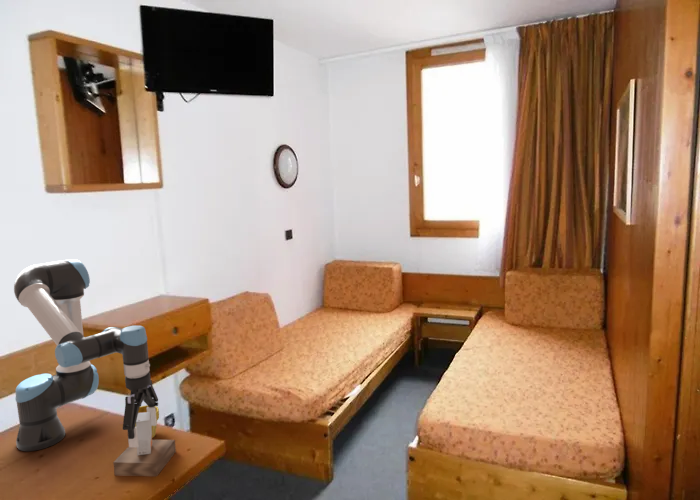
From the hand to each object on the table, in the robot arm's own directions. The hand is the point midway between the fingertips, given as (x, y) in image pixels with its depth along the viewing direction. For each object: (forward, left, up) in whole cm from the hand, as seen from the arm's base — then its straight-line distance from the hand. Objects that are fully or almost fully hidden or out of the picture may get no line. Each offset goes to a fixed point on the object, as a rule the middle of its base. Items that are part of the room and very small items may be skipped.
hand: (143, 435), depth 163 cm
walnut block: (0, 0, -10) cm, 10 cm away
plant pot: (-8, +17, -10) cm, 21 cm away
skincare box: (0, 0, -5) cm, 5 cm away
